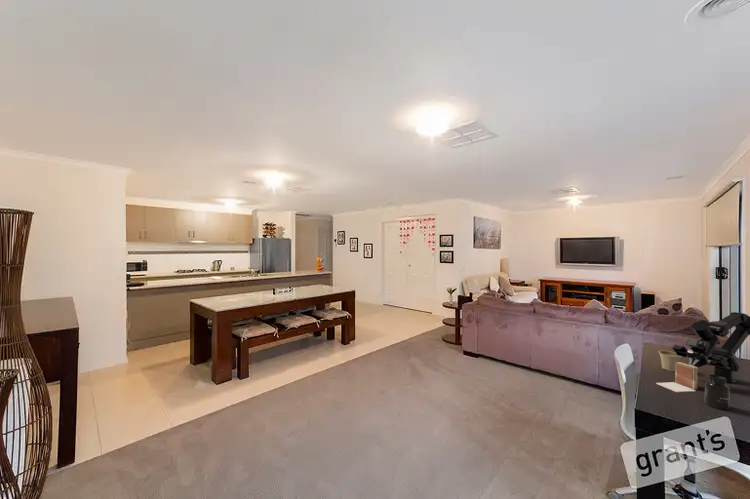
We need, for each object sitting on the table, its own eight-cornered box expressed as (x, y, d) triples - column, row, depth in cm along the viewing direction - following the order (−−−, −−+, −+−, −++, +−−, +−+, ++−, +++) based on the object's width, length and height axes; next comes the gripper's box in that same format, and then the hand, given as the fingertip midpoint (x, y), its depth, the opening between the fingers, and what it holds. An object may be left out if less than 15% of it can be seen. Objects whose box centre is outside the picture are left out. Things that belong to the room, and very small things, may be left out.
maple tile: (678, 382, 150) (679, 362, 150) (697, 389, 144) (697, 367, 144) (674, 383, 150) (675, 362, 150) (693, 389, 143) (693, 367, 143)
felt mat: (674, 383, 150) (674, 382, 150) (695, 391, 141) (695, 390, 141) (656, 383, 149) (656, 382, 149) (676, 392, 140) (676, 391, 140)
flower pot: (687, 373, 162) (687, 357, 162) (666, 372, 164) (666, 355, 164) (673, 367, 171) (674, 351, 171) (653, 365, 173) (654, 350, 173)
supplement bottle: (725, 411, 123) (726, 381, 123) (701, 404, 129) (702, 375, 129) (731, 408, 126) (732, 378, 126) (708, 400, 132) (708, 372, 132)
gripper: (675, 328, 158) (659, 351, 155) (725, 338, 140) (708, 365, 137) (685, 343, 160) (669, 366, 157) (735, 355, 142) (719, 381, 139)
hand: (690, 369), depth 148 cm, fingers closed
